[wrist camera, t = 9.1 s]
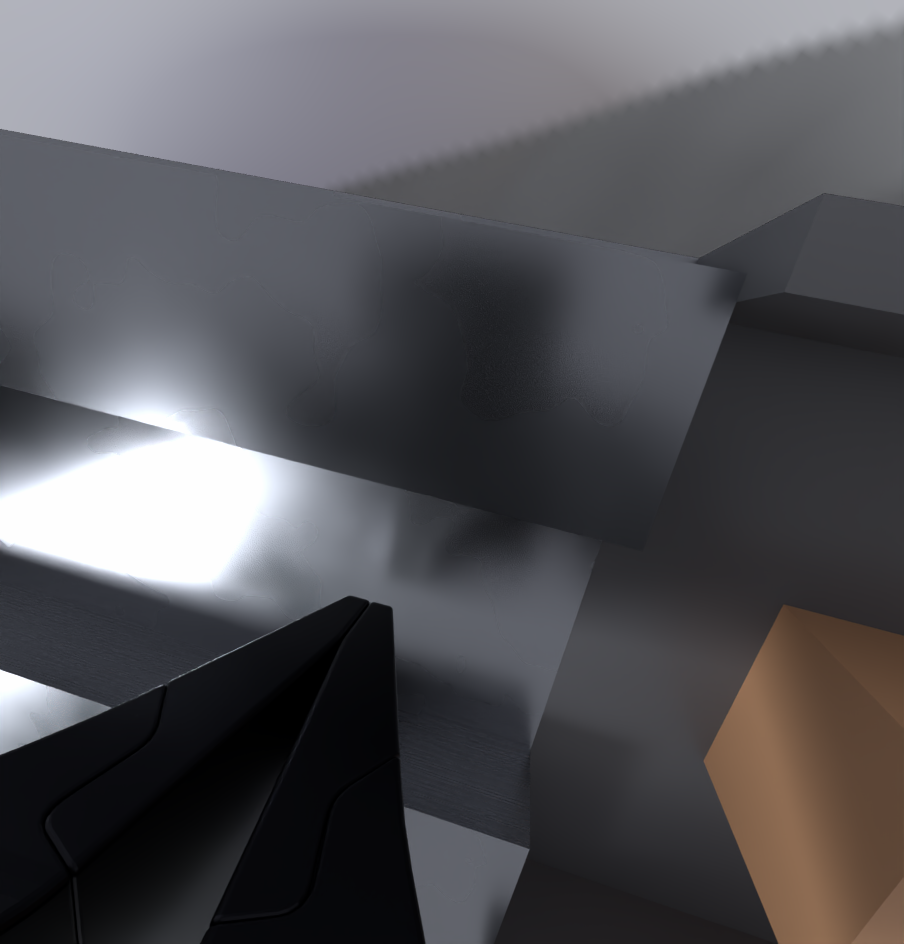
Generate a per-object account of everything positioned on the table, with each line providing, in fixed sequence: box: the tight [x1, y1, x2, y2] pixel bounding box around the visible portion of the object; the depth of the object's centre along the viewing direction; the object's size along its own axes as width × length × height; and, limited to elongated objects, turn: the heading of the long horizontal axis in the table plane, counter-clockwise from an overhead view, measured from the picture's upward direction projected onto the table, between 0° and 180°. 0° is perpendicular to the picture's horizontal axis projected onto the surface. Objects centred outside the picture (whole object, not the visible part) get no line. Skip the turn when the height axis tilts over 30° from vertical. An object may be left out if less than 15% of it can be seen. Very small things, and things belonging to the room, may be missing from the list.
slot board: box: [0, 129, 747, 944], centre depth 9 cm, size 16×14×3 cm
